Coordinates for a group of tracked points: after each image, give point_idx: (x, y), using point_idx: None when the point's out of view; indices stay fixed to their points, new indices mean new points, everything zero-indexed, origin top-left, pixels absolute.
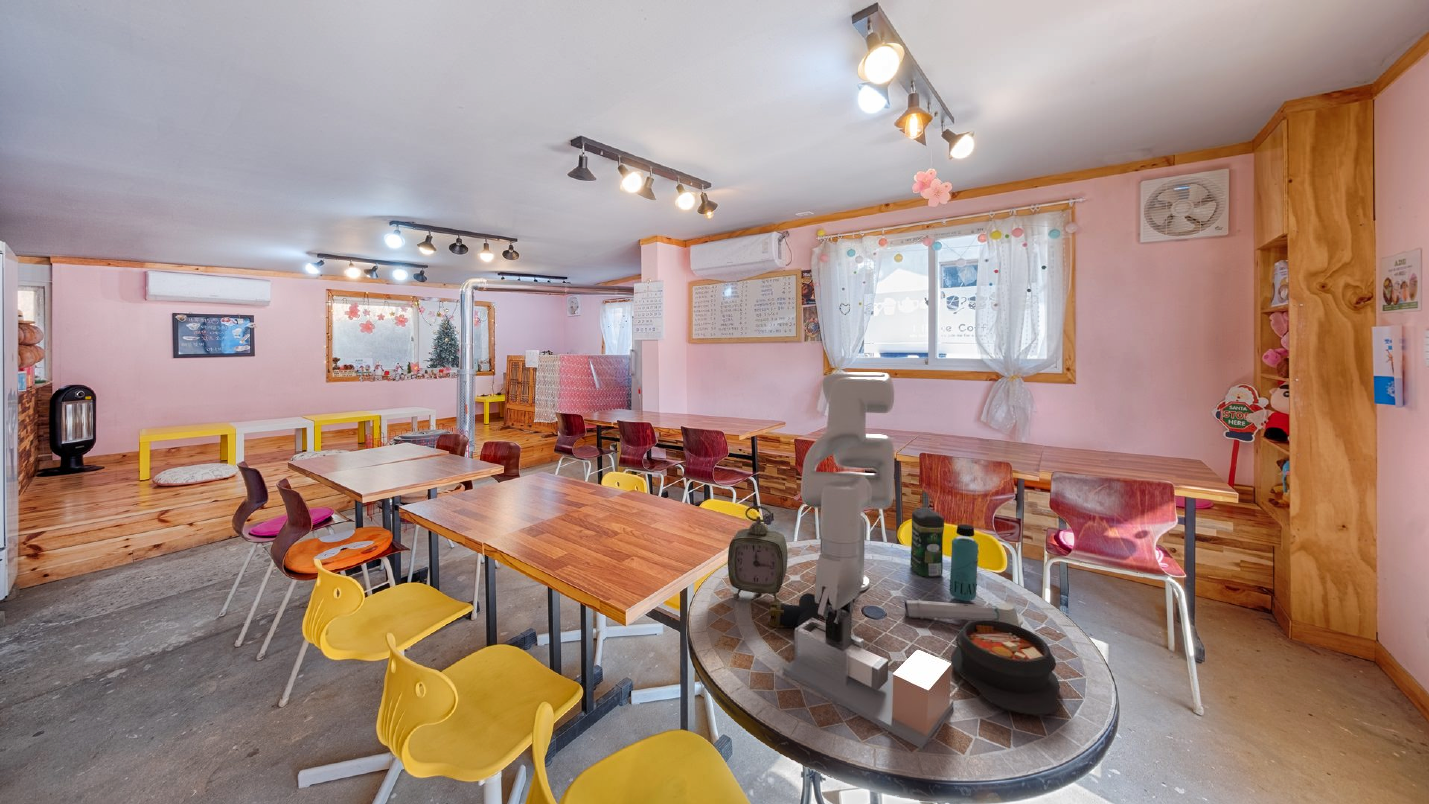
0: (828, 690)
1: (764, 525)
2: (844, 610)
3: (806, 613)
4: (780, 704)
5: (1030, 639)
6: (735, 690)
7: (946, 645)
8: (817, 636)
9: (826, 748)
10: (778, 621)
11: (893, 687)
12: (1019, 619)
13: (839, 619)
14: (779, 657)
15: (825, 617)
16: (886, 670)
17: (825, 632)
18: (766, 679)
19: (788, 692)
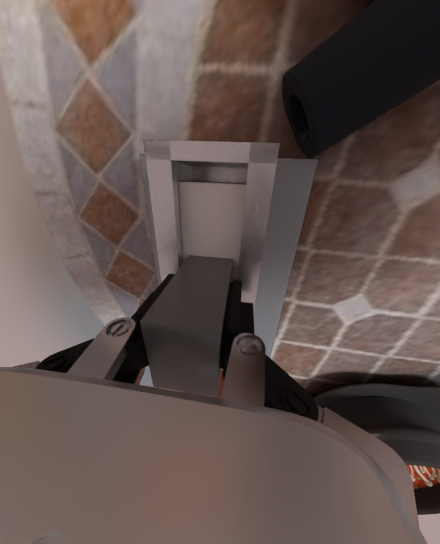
0: (158, 267)
1: None
2: (225, 370)
3: (421, 12)
4: (85, 211)
5: (430, 495)
6: (23, 105)
7: (435, 359)
8: (171, 239)
9: (90, 299)
10: None
11: (163, 388)
12: None
13: (143, 373)
14: (187, 97)
15: (87, 345)
16: None
17: (164, 279)
18: (103, 137)
19: (116, 203)
